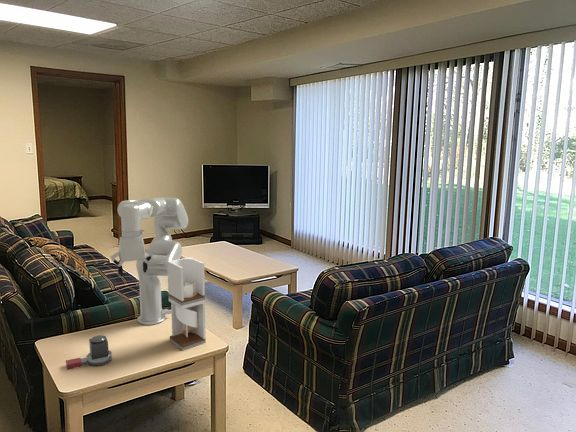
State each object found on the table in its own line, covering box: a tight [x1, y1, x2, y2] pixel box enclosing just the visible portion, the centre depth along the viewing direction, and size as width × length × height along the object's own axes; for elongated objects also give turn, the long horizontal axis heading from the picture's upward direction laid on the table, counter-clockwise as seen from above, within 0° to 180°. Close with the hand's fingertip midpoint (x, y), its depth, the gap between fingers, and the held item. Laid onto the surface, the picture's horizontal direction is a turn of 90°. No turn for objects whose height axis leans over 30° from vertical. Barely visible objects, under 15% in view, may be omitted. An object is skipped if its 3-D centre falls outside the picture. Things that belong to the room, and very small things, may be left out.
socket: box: [88, 334, 109, 360], centre depth 176 cm, size 6×6×7 cm
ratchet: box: [65, 349, 113, 371], centre depth 175 cm, size 16×9×6 cm, turn 120°
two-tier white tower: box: [167, 256, 207, 351], centre depth 191 cm, size 11×11×35 cm
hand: (133, 273), depth 194 cm, fingers open, 9 cm apart
